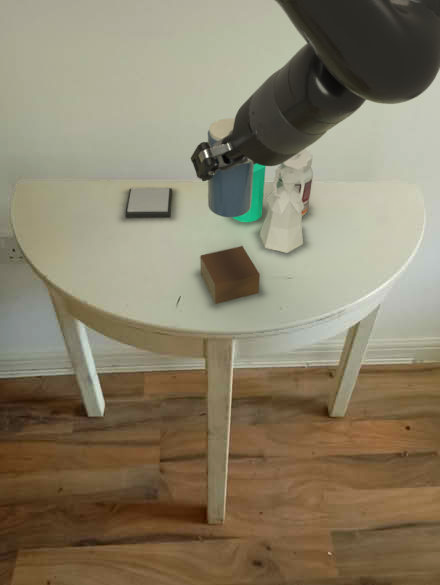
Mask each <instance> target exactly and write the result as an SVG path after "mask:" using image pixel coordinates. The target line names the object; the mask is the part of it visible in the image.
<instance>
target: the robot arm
mask: <svg viewBox="0 0 440 585" xmlns="http://www.w3.org/2000/svg"><path fill="white" fill-rule="evenodd" d="M273 1H274V2H276V4H277V5H278V6H279V7H280V8H281V10H282V11H283V12H284V14H285V15H286V17H287V18H288V19H289V21H290V22H291V24H292V25H293V26H294V28H295V29H296V31H297V32H298V34H299V35H300V36H301V37H302V38H303V39H304V41H305V42H306V44H304V45H303V46H302V47H301V48H300V49H299V50H298V51H297V52H296V53H295V54H294V55H293V56H292V57H291V58H290V59H289V60H288V61H287V62H286V63H285V64H284V65H283V66H282V67H281V68H279V69H278V70H276V71H275V72H273V73H272V74H271V75H270V76H269V77H268V78H266V79H265V81H263V83H262V84H261V85H259V87H258V88H257V89H255V91H254V92H253V93H252V94H251V96H249V97H248V99H247V100H245V101H244V103H242V105H241V106H240V107H239V109H238V110H237V112H236V114H235V117H234V119H235V120H234V126H233V130H231V131H230V132H229V135H227V136H226V137H224V138H222V139H221V140H219V141H218V142H216V143H214V145H213V148H211V146H210V144H208V141H202V142H200V143H199V144H198V145H197V146H196V148H195V149H194V151H193V153H192V154H191V157H190V161H191V163H192V165H193V168H194V172H195V175H196V177H197V179H199V180H201V181H202V182H206V181H207V182H208V180H209V179H210V178H211V177H213V176H214V175H215V174H216V173H218V172H220V171H221V170H222V171H229V170H232V169H234V168H236V167H238V166H240V165H241V164H246V163H250V162H252V161H253V162H254V165H255V164H256V163H257V164H260V165H263V166H266V167H276V166H280V165H281V164H282V163H284V162H285V161H287V160H288V159H290V158H291V157H293V156H294V155H296V154H298V153H299V152H301V151H302V150H304V149H307V148H308V147H310V146H312V145H313V144H314V143H316V142H317V141H319V140H320V139H321V138H322V137H323V136H324V135H325V134H326V133H327V132H329V131H330V130H331V129H332V128H334V127H336V126H337V125H339V124H340V123H341V122H343V121H344V120H346V119H348V118H349V117H351V116H352V115H353V114H354V113H355V112H357V111H358V110H359V109H360V108H361V107H362V106H363V105H364V103H365V102H366V101H369V102H372V103H376V104H381V105H383V104H385V105H395V104H401V103H406V102H409V101H411V100H414V99H415V98H417V97H419V96H420V95H421V94H423V93H424V92H426V91H427V89H429V87H430V86H431V85H432V83H433V82H434V81H435V79H436V77H437V76H438V73H439V72H440V0H273ZM216 158H217V159H218V162H219V165H218V166H216V165H217V162H216ZM230 159H231V160H233V162H232V163H231V162H230Z"/></svg>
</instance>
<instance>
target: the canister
mask: <svg viewBox="0 0 440 585" xmlns="http://www.w3.org/2000/svg"><path fill="white" fill-rule="evenodd" d="M234 120H235V118H233V117H232V118H229V117H228V118H221V119H218V120H215V121H214V122H212V123H211V124H210V126H209V128H208V131H207V142H208V144H210V146H211V148H213V145H214V143H216V142H218V141H219V140H221V139H222V138H224V137H226V136H227V135H229V132H230V131H231V130H233V126H234ZM216 162H217V165H216V166H218V165H219V162H218V159H217V158H216ZM230 162H231V163H232V162H233V160H231V159H230ZM253 167H254V162H253V161H252V162H250V163H246V164H241V165H240V166H238V167H236V168H234V169H232V170H229V171H222V170H221V171H220V172H218V173H216V174H215V175H214V176H213V177H211V178H210V179H209V180H207V199H208V202H207V203H208V204H207V206H208V208H209V210H210V211H211V212H212V213H213V214H215V215H217V216H219V217H224V218H233V217H238V216H241V215H244V214H245V213H247V212H248V211H249V210H250V208H251V199H252V183H253Z"/></svg>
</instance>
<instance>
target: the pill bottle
mask: <svg viewBox="0 0 440 585" xmlns="http://www.w3.org/2000/svg"><path fill="white" fill-rule="evenodd" d="M302 151H303V152H304V153H305V154H306V155H307V156H308V159H307V166H304V167H302V168H303V176H304V183H305V186H304V191H303V196H302V202H303V205H304V208H303V209H302V217H304V216H305V215H306V214H307V212H308V209H309V204H310V196H311V190H312V184H313V179H314V178H313V177H314V171H313V168H312V162H313V153H312V152H311V151H310V150H308V149H307V148H305V149H304V150H302ZM284 166H285V164H284V163H282V164H279V165H278V167H281V168H283V167H284ZM299 177H300V176H299ZM281 186H283V182H282V178H281V175H280V178H279V180H278V183H277V188H279V187H281ZM294 187H295V188H298V191H299V193H300V191H301V180H300V178H299V179H298V182H297V183H295V186H294Z"/></svg>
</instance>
